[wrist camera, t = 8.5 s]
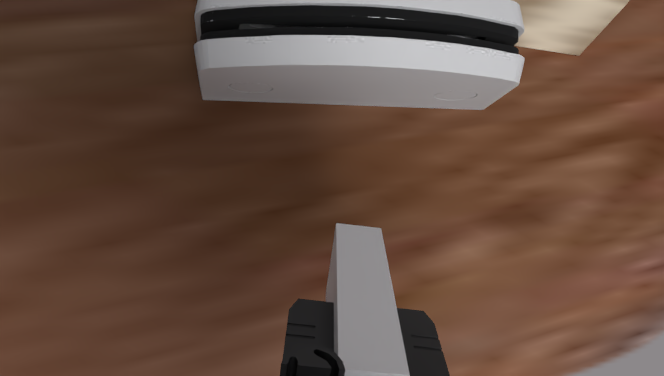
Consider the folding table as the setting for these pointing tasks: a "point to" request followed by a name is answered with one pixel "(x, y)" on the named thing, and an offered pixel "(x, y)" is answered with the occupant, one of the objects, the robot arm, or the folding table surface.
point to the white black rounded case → (359, 51)
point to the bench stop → (565, 23)
